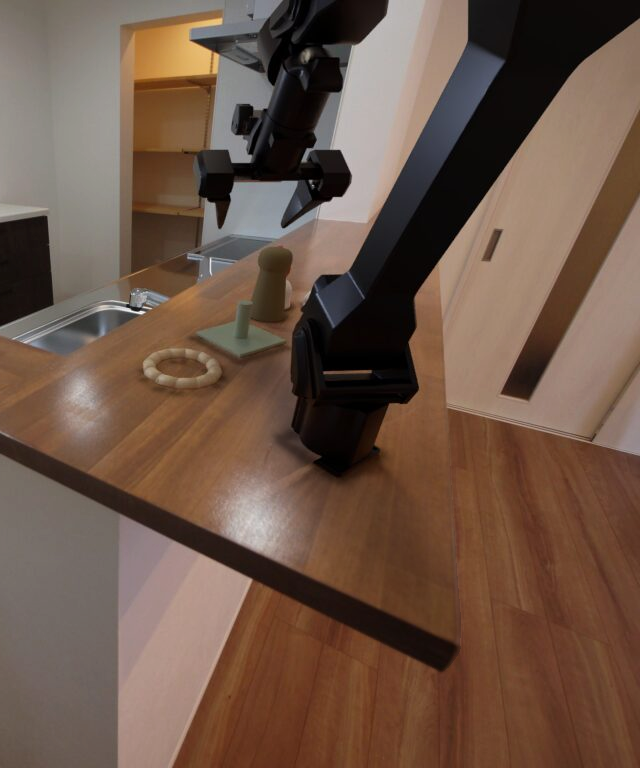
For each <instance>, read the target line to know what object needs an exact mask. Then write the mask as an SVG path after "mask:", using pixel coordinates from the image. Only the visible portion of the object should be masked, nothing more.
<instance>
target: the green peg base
mask: <svg viewBox="0 0 640 768" xmlns="http://www.w3.org/2000/svg"><path fill="white" fill-rule="evenodd" d="M252 306H253V302H251V300H248V299H240V300H238V301H237V306H236V312H235V313H236V314H235V320H234V321H231V322H227V323H223V324H221V325H217V326H212V327H208V328H205V329H201V330H197V331H195V335H196V336H197V337H200V338H202V339H203V340H205V341H207V342H209V343H211V344H213V345H215V346H217V347H219V348H221V349H222V350H224V351H226V352H228V353H230V354H232V355H234V356H236V357H238V358H239V359H240V358H244V357H247V356H249V355H253V354H255V353H256V354H257V353H260V352H262V351H265V350H268V349H273V348H275V347H278V346H281V345H284V344H286V343H287V340H286V339H285V338H283V337H280V336H278V335H276V334H274V333H271V332H269V331H267V330H264V329H262V328H260V327H257V326H255V325H253V324H251V319H252V318H251V312H252Z"/></svg>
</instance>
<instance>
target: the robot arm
mask: <svg viewBox="0 0 640 768" xmlns="http://www.w3.org/2000/svg"><path fill="white" fill-rule="evenodd" d="M389 2H390V0H282V1H280V3H279V4H278V5H277V7H276V8H275V9H274V11H272V13H271V14H270V15H269V16H268V18H267V19H266V20H265V21H264V23H263V24H262V27H261V28H260V29H259V31H258V33H257V34H258V35H257V40H256V48H257V52H258V56H259V58H260V60H261V64H262V67H263V69H264V72H265V76H266V78H267V81H268V83H270V85H271V86H273V90H272V94H271V95H270V99H269V102H268V106H267V108H262V109H254V108H255V107H254V106H253V105H251V104H250V103H236V104H235V107H234V110H233V114H232V118H231V125H230V131H231V133H232V134H233V135H234V136H242V139H243V140H244V141H247V144H246V148H245V150H246V154H247V156H251V159H250V162H232V158H231V153H230V150H229V149H200V151H198V152H197V154H195V156H194V160H193V165H192V171H193V177H194V182H195V187H196V191H197V192H196V193H197V195H198V196H199V197H201V198H202V199H206V201H207V202H208V203H210V204H211V203H212V204H214V208H215V216H216V225H217V229H218V230H222V229H223V226H224V224H225V222H226V218H227V215H228V212H229V209H230V206H231V202H232V198H231V197H232V196H231V193H232V192H233V189H234V184H235V183H283V182H297V183H296V188H295V190H294V191H293V194H292V196H291V198H290V200H289V202H288V205H287V207H286V208H285V211H284V212H283V215H282V218H281V220H280V228H281V229H286V228H288V227H289V226H290V225H292V224H293V223H295V222H296V221H298V220H299V219H300V218H302V217H303V216H305V215H306V214H307V213H309V212H311V211H313V210H314V209H316V208H318V207H319V206H321V205H322V204H324V203H330V202H331V201H332V200H333V199H334V198H343V197H344V196H345V195H346V193H347V192H348V190H349V188H350V186H351V184H352V180H353V174H352V172H351V169H350V167H349V165H348V162H347V161H346V159H345V157H344V154H343V152H342V150H341V149H314V147H315V145H316V143H317V141H318V138H317V136H316V134H315V131H316V129H317V127H318V124H319V122H320V119H321V117H322V115H323V112H324V110H325V107H326V105H327V103H328V100H329V98H330V97H331V94H340V93H341V92H342V90H343V89H344V75H343V74H342V71H341V58H340V57H339V56H334V54H333V53H332V51H330V50H329V49H328V48H325V47H324V46H357V45H360V44H361V43H362V42H363V41H364V40H365V39H367V37H368V36H369V35H370V34H371V33H372V31H374V30H375V29H376V27H378V25H380V23H381V22H382V21H383V20H384V19H385V18H386V17H387V14H388V9H389ZM639 20H640V0H467V42H466V44H465V47H464V48H463V51H462V53H461V56H460V57H459V60H458V62H457V63H456V65H455V67H454V69H453V71H452V73H451V75H450V77H449V78H448V80H447V82H446V84H445V87H444V89H443V90H442V92H441V94H440V95H439V98H438V100H437V101H436V104H435V106H434V107H433V109H432V111H431V113H430V115H429V117H428V119H427V121H426V123H425V125H424V127H423V128H422V130H421V132H420V134H419V136H418V138H417V140H416V142H415V144H414V146H413V147H412V150H411V152H410V154H409V155H408V157H407V159H406V161H405V163H404V164H403V166H402V168H401V171H400V172H399V174H398V177H397V178H396V180H395V182H394V184H393V186H392V187H391V190H390V192H389V194H388V196H387V198H386V199H385V201H384V203H383V205H382V207H381V209H380V211H379V213H378V215H377V216H376V218H375V220H374V222H373V224H372V225H371V228H370V230H369V232H368V234H367V235H366V237H365V240H364V241H363V243H362V245H361V246H360V249H359V251H358V253H357V254H356V256H355V259H354V260H353V262H352V264H351V267H350V268H349V269H348V270H347V271H345V272H344V273H338V274H337V273H336V274H335V273H333V274H331V273H330V274H329V273H328V274H320V275H319V277H317V279H316V280H315V281H314V282H313V285H312V287H311V289H310V291H311V293H310V295H309V298H308V300H307V302H306V303H305V305H304V306H303V305H302V306H301V308H300V312H301V313H302V314H301V316H300V318H299V319H298V321H297V322H296V324H295V326H294V328H293V330H292V333H291V349H290V350H291V351H290V368H289V369H290V370H289V374H290V382H291V384H292V388H291V394H292V395H293V396H294V397H297V399H296V402H295V407H294V410H293V413H292V419H291V423H290V428H291V429H293V433H296V434H297V435H298V437H299V440H300V442H301V444H302V445H303V446H304V447H305V448H306V449H307V450H308V451H310V452H312V453H313V454H315V455H317V456H319V457H318V458H316V459H315V460H313V461H312V462H313V463H315V464H316V465H318V466H319V467H320V468H322V469H323V470H326V471H327V472H328V473H330V474H331V475H333V476H335V477H337V478H338V477H339V478H340V477H343V476H345V475H347V474H348V473H350V472H351V471H353V470H355V469H357V468H358V467H360V466H362V465H364V464H365V463H367V462H369V461H370V460H372V459H374V458H375V457H377V456H379V454H380V453H381V448H380V447H378V446H377V445H375V443H376V440H377V438H378V435H379V434H380V430H381V427H382V425H383V422H384V419H385V417H386V414H387V411H388V408H389V406H390V404H391V405H392V404H399V405H408V404H409V402H411V400H412V399H413V398H414V397H415V396H416V395H417V394H418V392H419V390H420V386H419V381H418V376H417V373H416V368H415V363H414V360H413V355H412V349H411V347H410V341H411V339H412V337H413V335H415V332H416V330H417V329H418V319H417V310H416V296H417V295H418V292H419V290H420V289H421V288H422V286H423V285H424V284H425V282H426V280H427V279H428V278H429V276H430V275H431V273H432V272H433V271H434V269H435V268H436V266H437V265H438V264H439V262H440V261H441V259H442V258H443V257H444V255H445V254H446V252H447V251H448V249H449V248H450V247H451V245H452V244H453V242H454V241H455V240H456V238H457V237H458V235H459V234H460V233H461V231H462V229H463V228H464V227H465V226H466V224H467V222H468V221H469V220H470V219H471V217H472V215H473V214H474V213H475V211H476V210H477V209H478V207H479V206H480V204H481V203H482V202H483V200H484V199H485V197H486V195H487V194H488V193H489V191H490V190H491V188H492V187H493V186H494V185H495V183H496V181H497V180H498V179H499V177H500V176H501V175H502V173H503V171H504V170H505V169H506V167H507V166H508V164H509V163H510V162H511V160H512V159H513V157H514V156H515V154H516V153H517V152H518V150H519V149H520V147H521V146H522V145H523V143H524V142H525V140H526V139H527V138H528V137H529V135H530V134H531V132H532V130H533V129H534V127H536V125H537V123H538V122H539V120H541V118H542V116H543V115H544V114H545V112H546V111H547V109H548V108H549V106H550V105H551V103H552V102H553V101H554V99H555V98H556V96H557V95H558V94H559V92H560V91H561V90H562V88H563V86H564V85H565V84H566V82H567V81H568V79H569V78H570V77H571V75H572V74H574V72H575V71H576V70H577V68H579V66H580V65H581V64H582V63H583V62H584V61H585V60H587V59H588V58H589V57H591V56H592V55H593V54H595V53H596V52H597V51H599V50H600V49H601V48H603V47H604V46H605V45H606V44H608V43H609V42H610V41H612V40H613V39H615V38H616V37H617V36H619V35H620V34H621V33H622V32H624V31H625V30H626V29H628V28H629V27H630V26H632V25H633V24H635V23H636V22H638V21H639ZM307 149H313V150H310V151H309V152H308V155H307V157H306V159H305V160H306V161H305V160H303V159H304V156H305V154H306V152H307ZM354 371H355V372H356V371H360V372H356V373H355V372H354ZM361 371H371V372H361ZM324 372H353V373H324Z"/></svg>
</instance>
